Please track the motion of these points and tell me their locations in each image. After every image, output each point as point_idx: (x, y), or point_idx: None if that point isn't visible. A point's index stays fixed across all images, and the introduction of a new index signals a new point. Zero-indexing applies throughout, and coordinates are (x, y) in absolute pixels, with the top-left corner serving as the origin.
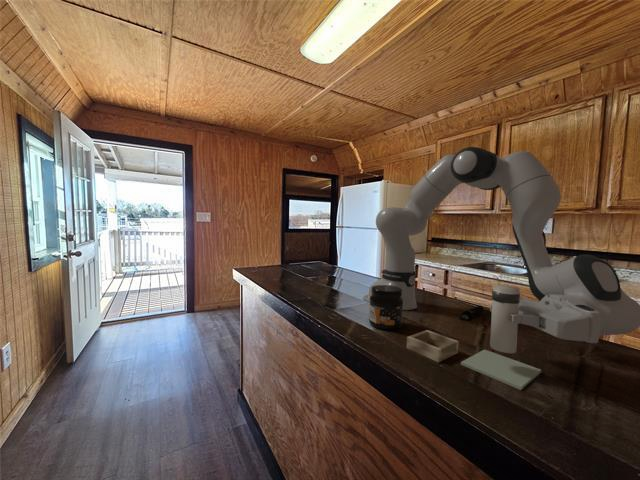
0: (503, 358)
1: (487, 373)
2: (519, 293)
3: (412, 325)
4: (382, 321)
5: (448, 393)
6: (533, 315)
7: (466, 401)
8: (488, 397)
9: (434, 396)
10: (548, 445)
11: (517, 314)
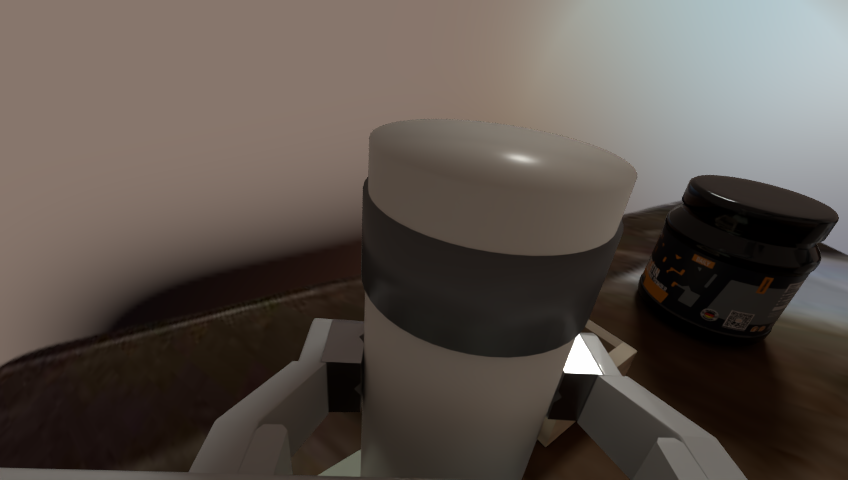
0: None
1: (360, 450)
2: (411, 228)
3: (772, 389)
4: (645, 271)
5: (299, 313)
6: (240, 445)
7: (259, 330)
8: (252, 384)
9: (297, 289)
10: (39, 402)
11: (325, 344)
